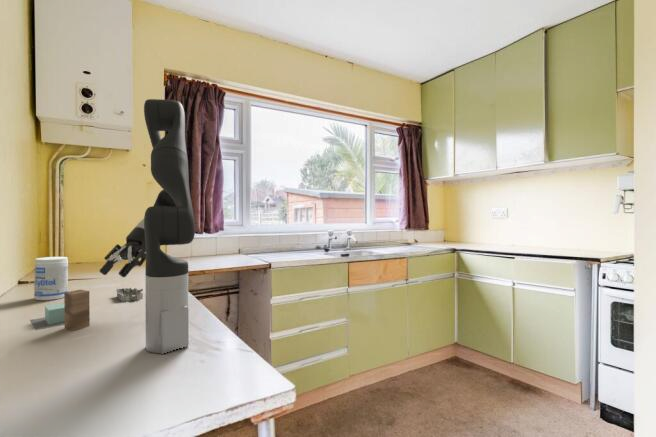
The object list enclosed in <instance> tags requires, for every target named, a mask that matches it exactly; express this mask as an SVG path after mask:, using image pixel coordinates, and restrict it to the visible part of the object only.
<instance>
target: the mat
mask: <svg viewBox="0 0 656 437" xmlns="http://www.w3.org/2000/svg"><path fill="white" fill-rule="evenodd" d="M29 320H30V322H31V324H32V326H33V328H34V329H35V330H36V331H39V330H44V329H50V328H56V327H60V326H65V322H60V323H55V324H50V325H49V324H48V323H47V322H46V320H45V316H44V317H40V318H35V319H29Z"/></svg>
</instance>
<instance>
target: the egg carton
mask: <svg viewBox="0 0 656 437" xmlns="http://www.w3.org/2000/svg"><path fill="white" fill-rule="evenodd" d="M143 291H144V290H143V288H140V289H138V288H136V287H134V288H132V287H129V288H128V287H126V288H123V287H122V288H117V287H116V291H115V292H116V298H117V299H119V300H120V302H127V303H129V302H132V300H133V301H137V300H138V301H141V300H143V297H144V295H143ZM140 299H141V300H140Z"/></svg>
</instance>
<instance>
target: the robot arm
mask: <svg viewBox="0 0 656 437" xmlns="http://www.w3.org/2000/svg"><path fill="white" fill-rule="evenodd" d="M143 113H144V115H143V116H144V120H145V121H144V122H145V125H146V129H147V132H148V136H149V139H150V143H151V147H152V150H151V154H150V173H151V175H152V177H153V179H154V180H155V182H156V183H157V184H158V185H159V186H160V188H161V189H162V190H160V191H159V193H158V195H157V197H156V199H155V202H154V204H153V206H149V207H147V208H146V210H145V212H144V215H143V216H144V217H143V219H141V220H140V221H139V222H138V223H137V225H135V227H134V228H133V229H132V230H131V231H130V232H129V234H127V236H126V237H125V241H126V243H125V244H123V245H122V246H121V245H120V244H116V245H115V246H114V247H112V249H111V250H110V251H109V252H108V253H107V254H106V255H105V256H104V260H105V261H106V262H105V264H103V265H102V267H101V268H100V269H99V273H100V274H102V275H104V276H107V274H109V272H110V271H111V269H112V268H114V266H115V265H117V264H118V263H123V262H124V261H127V263H125V264H124V265H123V266H122V268H121V269H120V270H119V271H118V275H119V276H120V277H122V278H126V277H127V276H128V275H129V273H130V272H131V271H132V270H133V269H134V268H136V267H137V266H138V267H141V266H142V265H143V264H144V263H145V351H147V352H149V353H155V354H156V353H157V354H161V355H164V353H165V354H168V353H171V352H174V351H173V350H175V351H177V350H176V349H178V350H180V349H179V348H182V347H185V348H187V347H186V346H188V345H189V340H190V339H189V331H190V330H189V328H190V327H189V319H190V318H189V316H190V315H189V263H188V261H187V260H185V259H183V258H178V257H176V256H172V255H169V254H167V253H166V252H164V251H163V250H162V248H161V247H162V246H178V245H179V246H180V245H182V246H183V245H187V244H191V243H192V242H193V240H194V238H195V234H196V221H195V214H194V209H193V203H192V199H191V198H192V197H191V191H190V178H189V176H190V175H189V173H190V172H189V159H188V153H187V151H188V150H187V144H186V115H185V110H184V106H183V104H182V103H181V102H180V101H178V100H175V99H160V98H159V99H156V98H150V99H149V98H148V99H146V100H145V101H144V104H143ZM161 132H168V133H167V134H166V135H164V136H163V137H162V135H161ZM188 347H189V346H188ZM182 349H183V348H182ZM170 351H171V352H170ZM167 352H168V353H167Z"/></svg>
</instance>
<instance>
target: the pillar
mask: <svg viewBox="0 0 656 437" xmlns="http://www.w3.org/2000/svg"><path fill="white" fill-rule="evenodd" d="M63 299H64V312H65V325H64V330H65V329H66V330H70V331H77V330H80V329H84V328H87V327H90V320H91V319H90V290H85V289H77V290H72V291H68V292H65V293H64V297H63Z"/></svg>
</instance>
